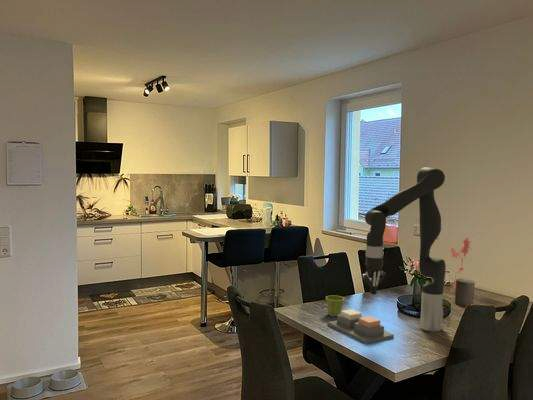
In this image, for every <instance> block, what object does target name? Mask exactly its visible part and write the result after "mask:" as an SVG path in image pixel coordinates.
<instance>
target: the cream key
mask: <svg viewBox="0 0 533 400" xmlns="http://www.w3.org/2000/svg"><path fill="white" fill-rule="evenodd" d="M340 315H341V316H342V317H344V318H346V319H349V320H354V319H359V318H361V317H362V312H359V311H357V310H356V309H345V310H341V314H340Z"/></svg>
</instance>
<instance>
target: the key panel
mask: <svg viewBox="0 0 533 400" xmlns="http://www.w3.org/2000/svg"><path fill="white" fill-rule="evenodd" d="M362 317H363V316H361V318H362ZM358 321H359V319H354V320H349V319H346V318H344V317H342V316H341V314H340V315H337V316H336V320H332V321H327V326H328V327H330V328H332V329H335V330H336V331H338V332H340V333H342V334H345V335H346V336H349V337H351V338H353V339H355V340H357V341H359V342H361V343H363V344H365V345H368V344H372V343H377V342H382V341H385V340H386V341H387V340H391V339H394V338H395V337H394V335H395V334H393V333H391V332H388V331H386V330H385V326H384V325H382V324H380V326H378V327H373V328H367V327H364V326H362V325H360V324H358Z"/></svg>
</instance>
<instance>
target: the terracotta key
mask: <svg viewBox="0 0 533 400" xmlns="http://www.w3.org/2000/svg"><path fill="white" fill-rule="evenodd" d="M361 317H362V318H359V321H358V324H360V325H362V326H364V327H367V328H373V327H378V326H380V325H381V320H380V319H378V318H375V317H373V316H370V315H368V316H361Z"/></svg>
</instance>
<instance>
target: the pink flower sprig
mask: <svg viewBox="0 0 533 400" xmlns="http://www.w3.org/2000/svg"><path fill="white" fill-rule="evenodd" d="M462 241H463V245H462V247H461V248H460V250H459V251H456V249H455V248H453V247H450V253H451V256H452V258H456V259H458V257H459V258H460V259H461V264H463V263H464V262H463V260H464V259H463V258H462V256H461V254H463V257H466V254H469V249H470V250H471V251H473V250H472V248H471V247H470V244H471V243H470V239H469V236H466V238H465V239H463V240H462ZM463 270H464V267H463V265H460V266H458V271H457V272H455V277H454V279H455V280H454V283H453V287H452V288H451V290H450V291H449V292H450V293H452V292H453V290H455V291H456V279H457V274H458V273H461V272H462V271H463ZM446 294H449V293H448V292H446Z"/></svg>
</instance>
